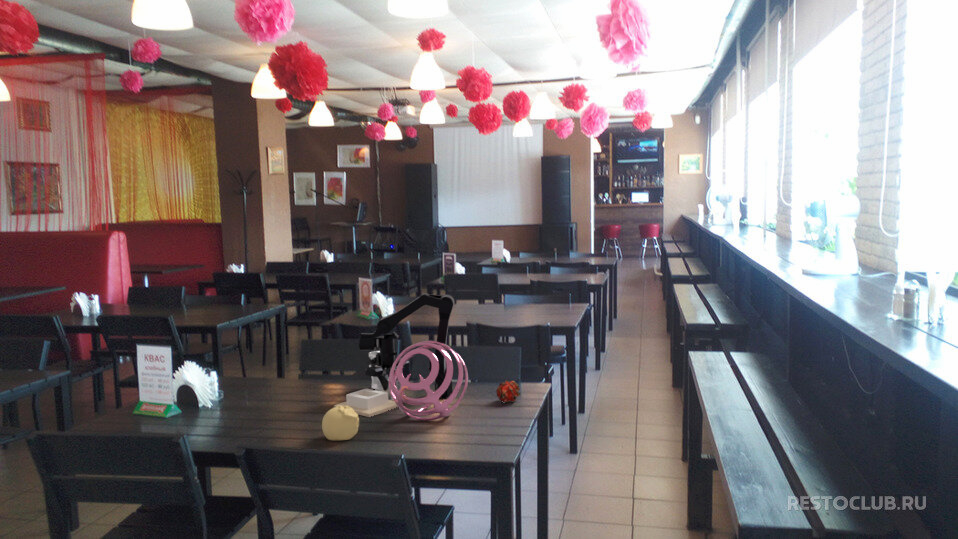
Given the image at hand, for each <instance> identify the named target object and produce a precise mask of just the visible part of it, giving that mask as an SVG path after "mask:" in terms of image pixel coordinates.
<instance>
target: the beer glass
mask: <svg viewBox="0 0 958 539" xmlns="http://www.w3.org/2000/svg"><path fill="white" fill-rule="evenodd" d="M379 352H380V350H371V351H370V352H368V357H369V356H373V358H374V357H377V354H378V353H379ZM375 366H376V367H381V366H377V365H375ZM368 367H371V365H368ZM370 377H371V388H370V389H372V390H373V389H375V390H377V391H380V388H377V379H378V377H373V376H370Z"/></svg>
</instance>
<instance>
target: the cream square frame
mask: <svg viewBox="0 0 958 539" xmlns="http://www.w3.org/2000/svg"><path fill="white" fill-rule="evenodd" d="M345 397H346V398H345V399H346V401H344V402H340V403H337V404H334V405H333V408H335V407H336V406H337V405H343V406H349V407H351V408H352V409H354V411H355V412H356V413H357V414H358V416H359V415H360V416H364V417H367V418H371V416H372V417H374V415H375V416H377V415H379V414H383V413H386V412H389V411H391V409H392V410H395V409H397V408H399V407H398V406H397V405H396V403H395V402H394V400H388V393H387V392H382V391H380V390H373V389H372V388H368V387H367V388H363V389H360V390H357V391H354V392H350V393H348V394H346V395H345ZM396 407H397V408H396ZM394 408H395V409H394ZM388 410H389V411H388Z"/></svg>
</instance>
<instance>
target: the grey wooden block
mask: <svg viewBox="0 0 958 539" xmlns="http://www.w3.org/2000/svg"><path fill="white" fill-rule="evenodd" d="M377 388H380V390H379V391H382V392H387V393H388V400H391V401H394V400H393V398H392V396H391V394H390V390H389V376H388V382H387V389H386V391H384V390H383V387H382V385H381V383H380V380H379V379H377ZM396 388H397V389H398V390H400V388H401V384H400V382H399V381H398V379H397V383H396Z"/></svg>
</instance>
